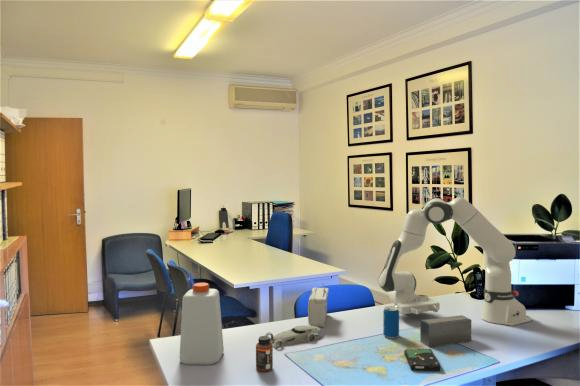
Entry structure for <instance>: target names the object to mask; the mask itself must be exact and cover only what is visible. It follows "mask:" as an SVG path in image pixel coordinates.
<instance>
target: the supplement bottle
mask: <svg viewBox="0 0 580 386" xmlns="http://www.w3.org/2000/svg"><path fill="white" fill-rule="evenodd" d="M270 338H271V336H269V335H268V336H265V335H261V336H259V337H258V342H257V343H256V345H255V367H256V368H255V369H256V370H257V371H258V372H261V373H262V372H263V373H266V372H270V371H272V370H273V365H274V364H273V363H274V359H273V356H274V355H273V353H274V352H273V348H274V347H273V345H272V343H271V342H270Z"/></svg>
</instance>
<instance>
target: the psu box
mask: <svg viewBox="0 0 580 386" xmlns="http://www.w3.org/2000/svg"><path fill="white" fill-rule="evenodd" d="M419 327H420V330H419V332H420V334H419V335H420V337H419V338H420V340H419V341H420V342H421V344H423V345H425V346H426V347H428V348H432V347H440V346H445V345H446V346H447V345H454V344H460V343H461V344H462V343H469V342H471V341H472V319H471V318H468V317H466V316H465V315H462V314H461V315H453V316H445V317H436V318H428V319H426V318H425V319H420V324H419Z"/></svg>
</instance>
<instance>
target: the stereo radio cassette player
mask: <svg viewBox="0 0 580 386" xmlns="http://www.w3.org/2000/svg"><path fill="white" fill-rule="evenodd" d="M329 290H330V289H329V288H328V287H325V285H324V284H322V287H312V289H311V292H310V295H309V298H308V303H307V305H308V306H307V320H308V321H307V322H308V326H316V327H319V328H324V327H325V325H326V320H327V319H326V318H327V313H328V294H329Z"/></svg>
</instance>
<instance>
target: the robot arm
mask: <svg viewBox="0 0 580 386" xmlns="http://www.w3.org/2000/svg"><path fill="white" fill-rule="evenodd" d="M450 220H453V221H455V223H457V225H458V226H459V227H460V228H461V229H462V230H463V231H464V232H465V233H466V234H467V235H468V236H469V237H470V238H471V240H473V241H474V242H475V243H476V244H477V245H478V246H479V248H481V249H482V250H483V261H484V270H485V271H484V272H485V275H484V277H485V278H484V279H485V281H484V282H485V283H484V289H483V296H484V300H483V301H484V302H483V309H482V313H481V315H480V318H481V319H482V320H483V321H485V322H488V323H492V324H497V325H505V326H506V325H507V326H517V325H520V324H525V323H528V322H533V319H532V318H533V317H530V316H529V315H527V310H526V307H525V305H524V304H523V303H521V302H519V300H517V299H516V298H515V296H516V297H517V296H519V295H520V294H519V291H517V290H512V271H511V263H510V262H512V261H513V260H514V258H515V256H516V248H515V246H514V244H513V243H512V242H511V241H510V240H509V239H508V238H507V237H506V236H505V235H504V234H503V233H502V232H501V231H500V230H499V229H498V228H497V227H495V226H494V225H493V223H491V222H490V221H489V220H488V219H487V218H486V217H485V216H484V215H483V213H482V212H480V211H479V209H478V208H476V206H475V205H473V204H472V203H471V202H469V201H468V200H467V199H465V198H464V197H460V196H459V197H458V196H457V197H456V198H453V199H452V200H451V201H446V200H444V199H443V198H441V197H432V198H431V199H429V200H427V202H426V203H425V204H424V205H423V206H422V207H421V209H419V208H414V209H411V210H409V211H408V212H407V214H406V217H405V219H404V222H403V227H402V231H401V234H400V235H399V237H398V239H397V240H395V241H394V242H393V243H392V245H391V248H390V249H389V253H388V255H387V258H386V261H385V263H384V267H383V269H382V271H381V272H380V275H379V276H378V285H379V287H380V288H381V289H382V290H383V291H384V292H386V293H388V297H389V300H390V302H391V303H392V304H393V307H397V308H398V310H399V314H403V315H407V314H408V315H409V314H414V315H421V313H424V312H425V313H426V312H433V313H438V312H439V311H440V307H441V305H440V302H439V301H438V300H436V299H434V298H431V297H429V296H428V295H424V294H417V293H415V291H416V289H417V279H416V277H415V275H414V274H413V273H412V272H411V271H396V268H397V266H398V263H399V261H400V259H401V257H402V256H403V255H405V254H408V253H410V252H412V251H416V250H418V249H420V248H421V247H422V246H423V243H424V242H425V238H426V234H427V233H426V232H427V230H428V229H427V228H428V226H429V224H434V225H439V224H442V223H445V222H447V221H450Z"/></svg>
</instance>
